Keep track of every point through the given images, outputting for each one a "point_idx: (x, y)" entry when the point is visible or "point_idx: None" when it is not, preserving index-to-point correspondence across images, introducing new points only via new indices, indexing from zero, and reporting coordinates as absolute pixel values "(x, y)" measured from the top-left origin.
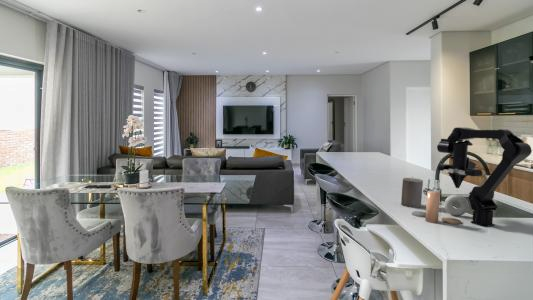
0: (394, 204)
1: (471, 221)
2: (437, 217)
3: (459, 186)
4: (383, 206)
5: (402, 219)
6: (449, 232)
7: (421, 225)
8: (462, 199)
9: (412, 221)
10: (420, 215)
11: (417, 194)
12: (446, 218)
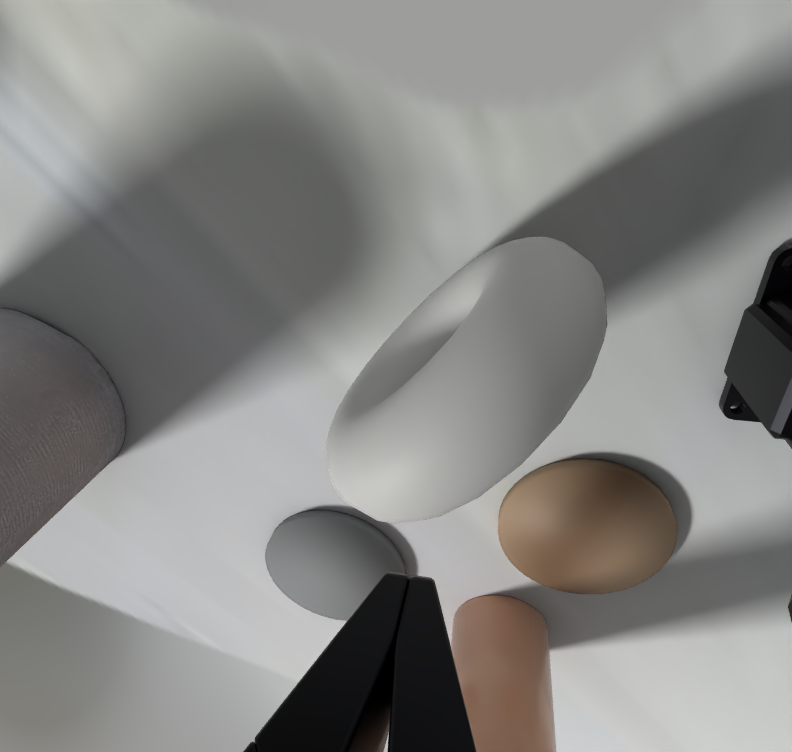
0: None
1: (735, 416)
2: (550, 672)
3: (441, 624)
4: (82, 594)
5: None
6: (736, 727)
7: None
8: (549, 431)
9: None
10: None
11: (19, 517)
12: (529, 527)
